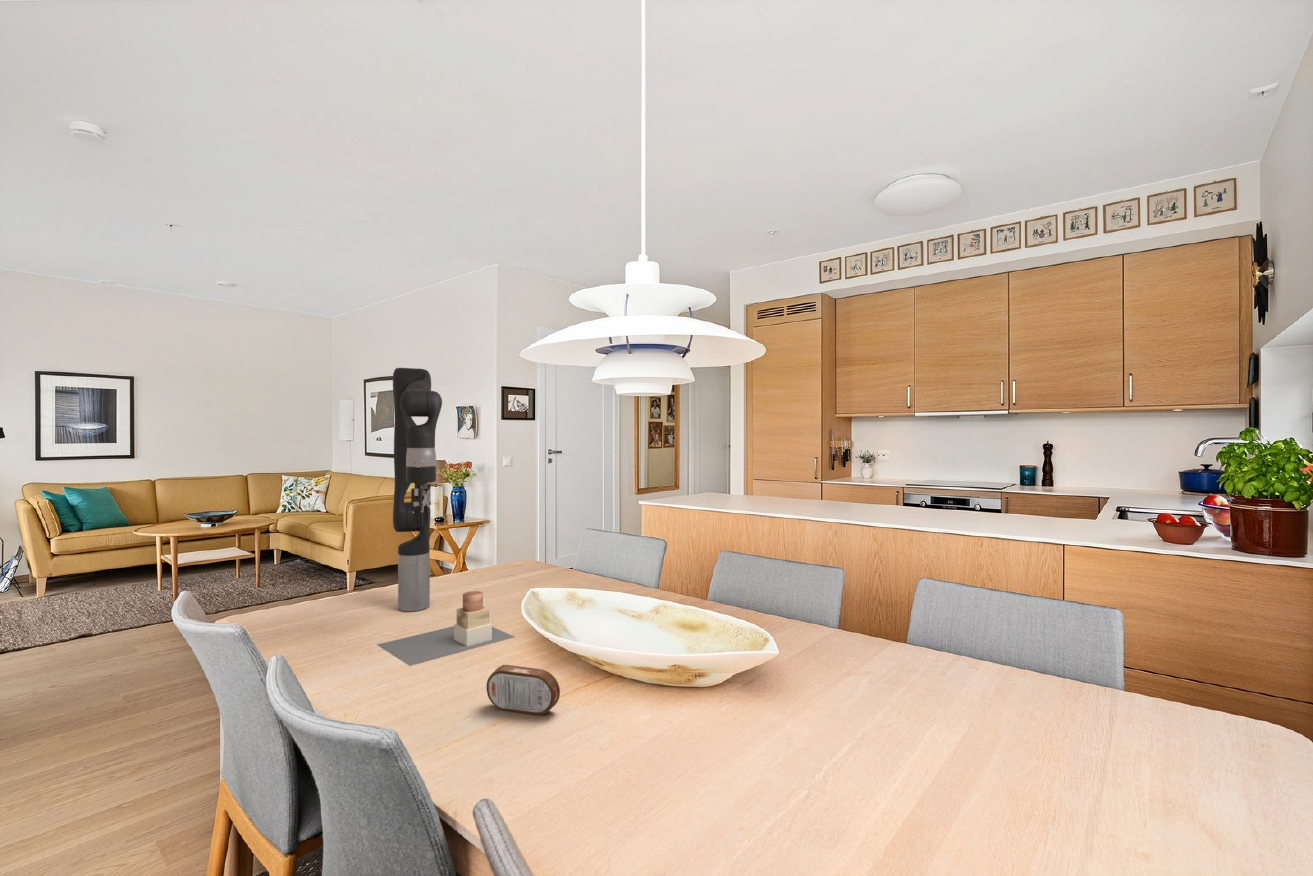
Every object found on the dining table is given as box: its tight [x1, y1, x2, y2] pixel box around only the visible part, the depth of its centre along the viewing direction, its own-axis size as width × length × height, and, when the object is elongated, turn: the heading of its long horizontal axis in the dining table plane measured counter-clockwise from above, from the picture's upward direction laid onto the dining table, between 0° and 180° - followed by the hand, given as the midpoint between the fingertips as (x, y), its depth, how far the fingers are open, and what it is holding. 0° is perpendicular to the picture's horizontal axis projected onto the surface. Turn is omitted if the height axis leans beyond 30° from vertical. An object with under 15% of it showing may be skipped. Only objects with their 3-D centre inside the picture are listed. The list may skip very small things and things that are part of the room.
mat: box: [376, 625, 516, 667], centre depth 155 cm, size 20×28×1 cm
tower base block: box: [453, 622, 493, 646], centre depth 156 cm, size 7×7×4 cm
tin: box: [486, 664, 561, 716], centre depth 118 cm, size 15×3×8 cm, turn 74°
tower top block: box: [456, 606, 490, 629], centre depth 156 cm, size 6×6×4 cm
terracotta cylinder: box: [462, 590, 484, 612], centre depth 156 cm, size 5×5×4 cm
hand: (421, 524), depth 162 cm, fingers open, 8 cm apart
